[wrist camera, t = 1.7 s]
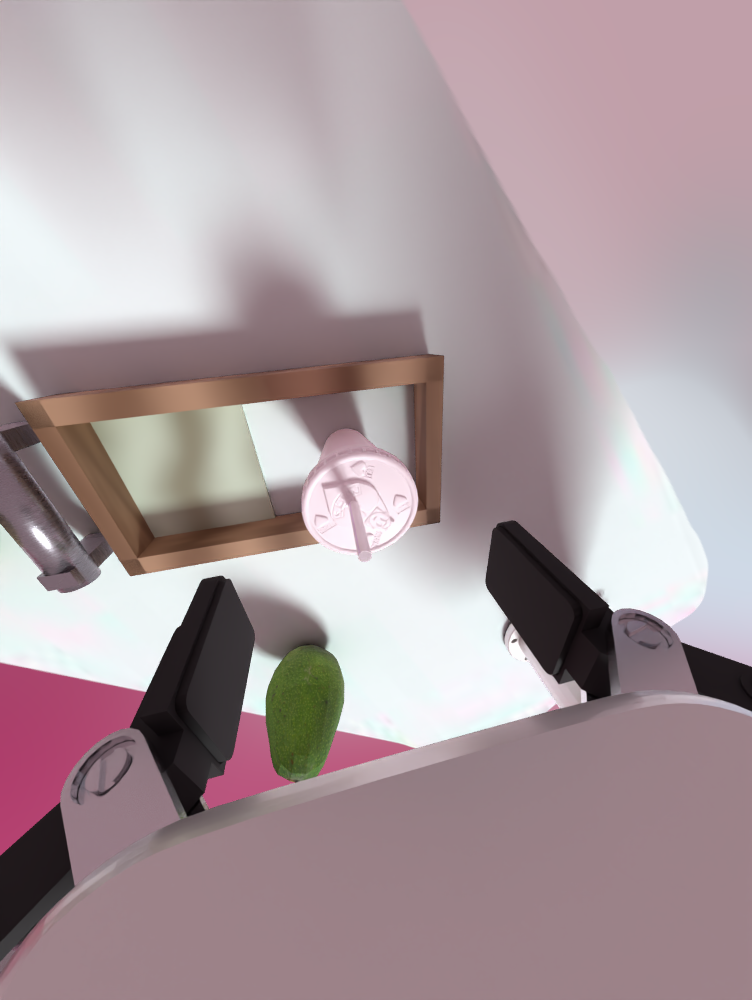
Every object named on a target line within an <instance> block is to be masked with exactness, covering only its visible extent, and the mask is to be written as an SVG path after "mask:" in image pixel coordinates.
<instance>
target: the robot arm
mask: <svg viewBox="0 0 752 1000" xmlns="http://www.w3.org/2000/svg"><path fill="white" fill-rule="evenodd" d="M485 582H486V586H487V589H488V590H489V592H490V593H491V595H492V596H493V598H494V599H495V600H496V602H497V603H498V605H499V606H500V608H501V609H502V611H503V612H504V613H505V615H506V616H507V618H508V619H509V621H510V622H511V624H510V625H509V627H508V629H507V631H506V634H505V645H506V648H507V649H508V651H509V653H510V654H511V655H512V656H513V657H514V658H516V659H518V660H521V661H527V662H529V663H530V664H531V666H532V667H533V669H534V670H535V672H536V673H537V675H538V676H539V678H540V679H541V681H542V682H543V684H544V685H545V687H546V688H547V690H548V691H549V693H550V694H551V696H552V697H553V699H554V700H555V702H556V703H557V705H558V706H559V708H560V709H557V710H553V711H550V712H546V713H542V714H539V715H535V716H531V717H528V718H524V719H520V720H517V721H513V722H509V723H506V724H502V725H498V726H495V727H491V728H487V729H484V730H480V731H477V732H473V733H469V734H466V735H462V736H459V737H455V738H452V739H448V740H444V741H441V742H437V743H434V744H430V745H426V746H423V747H419V748H416V749H412V750H409V751H405V752H402V753H398V754H395V755H391V756H387V757H384V758H380V759H377V760H373V761H370V762H366V763H363V764H359V765H356V766H352V767H349V768H345V769H342V770H338V771H335V772H331V773H328V774H325V775H321V776H318V777H314V778H310V779H307V780H303V781H300V782H296V783H293V784H290V785H286V786H282V787H279V788H276V789H272V790H269V791H266V792H262V793H259V794H256V795H253V796H250V797H246V798H243V799H240V800H236V801H233V802H230V803H227V804H223V805H220V806H217V807H214V808H211V809H209V808H208V806H207V804H206V802H205V800H204V798H203V796H202V795H203V794H204V793H205V788H206V784H207V780H208V779H209V778H213V777H217V776H221V775H223V774H224V769H225V764H226V761H227V760H230V759H231V758H232V755H233V752H234V747H235V742H236V737H237V731H238V726H239V721H240V715H241V710H242V705H243V699H244V694H245V689H246V683H247V678H248V673H249V667H250V662H251V657H252V651H253V646H254V640H255V634H254V630H253V627H252V625H251V623H250V621H249V619H248V617H247V614H246V612H245V610H244V608H243V606H242V603H241V601H240V599H239V597H238V595H237V592H236V590H235V588H234V586H233V584H232V582H231V580H230V579H225V578H224V577H223V576H216V577H211V578H206V579H203V580H202V581H201V582H200V584H199V587H198V589H197V591H196V593H195V595H194V598H193V600H192V602H191V604H190V606H189V609H188V611H187V613H186V615H185V618H184V620H183V622H182V624H181V626H179V627H178V628H177V629H176V630H175V632H174V634H173V636H172V638H171V640H170V642H169V644H168V646H167V649H166V651H165V653H164V655H163V657H162V659H161V661H160V664H159V666H158V668H157V670H156V672H155V674H154V677H153V679H152V681H151V683H150V685H149V687H148V689H147V692H146V694H145V696H144V698H143V700H142V702H141V705H140V707H139V709H138V711H137V713H136V715H135V717H134V720H133V722H132V724H131V726H130V728H127V729H121V730H119V731H116V732H114V733H112V734H110V735H108V736H107V737H105V738H104V739H102V740H101V741H99V742H98V743H96V744H95V745H94V746H93V747H92V748H91V749H90V750H89V751H88V752H86V753H85V754H84V756H83V757H82V758H81V759H80V761H79V762H78V763H77V764H76V765H75V767H74V768H73V770H72V771H71V773H70V774H69V776H68V778H67V779H66V782H65V784H64V787H63V790H62V792H61V802H60V803H59V804H58V805H56V807H54V808H53V809H52V810H51V811H50V812H49V813H48V814H46V815H45V816H44V817H43V818H42V819H41V820H40V821H39V822H37V823H36V824H35V825H34V826H33V827H32V828H31V829H30V830H29V831H27V832H26V833H25V834H24V835H23V836H22V837H21V838H20V839H18V840H17V841H16V842H15V843H14V844H13V845H12V846H11V847H10V848H8V849H7V850H6V851H5V852H4V853H3V854H2V855H1V856H0V1000H752V667H751V666H748V665H745V664H742V663H739V662H736V661H733V660H731V659H728V658H724V657H722V656H719V655H716V654H713V653H710V652H707V651H704V650H702V649H699V648H696V647H693V646H690V645H687V644H685V643H682V642H681V641H680V639H679V638H678V636H677V634H676V633H675V632H674V631H673V630H672V628H671V627H670V626H668V625H667V624H666V623H664V622H663V621H662V620H660V619H658V618H657V617H655V616H653V615H651V614H649V613H646V612H643V611H640V610H635V609H620V610H617V611H615V612H613V611H612V610H611V609H610V608H608V607H609V605H608V604H607V603H606V602H605V601H604V600H602V599H601V598H600V597H599V596H598V595H597V594H596V593H595V592H594V591H593V590H591V589H590V588H589V587H588V586H587V585H586V584H585V583H584V582H583V581H581V580H580V579H579V578H578V577H577V576H576V575H575V574H574V573H573V572H572V571H570V570H569V569H568V568H567V567H566V566H565V565H564V564H563V563H562V562H560V561H559V560H558V559H557V558H556V557H555V556H554V555H553V554H552V553H551V552H549V551H548V550H547V549H546V548H545V547H544V546H543V545H542V544H541V543H540V542H538V541H537V540H536V539H535V538H534V537H533V536H532V535H531V534H530V533H528V532H527V531H526V530H525V529H524V528H523V527H522V526H521V525H520V524H519V523H517V522H516V521H507V522H502V523H498V524H497V526H496V528H494V529H493V531H492V538H491V545H490V552H489V559H488V566H487V573H486V581H485Z"/></svg>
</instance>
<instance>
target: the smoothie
mask: <svg viewBox="0 0 752 1000" xmlns="http://www.w3.org/2000/svg"><path fill="white" fill-rule="evenodd" d="M301 502H302V516H303V520H304V523H305V525H306V527H307V529H308V531H309V532H310V534H311V535H312V536H313V537H314V538H315V539H316V540H317V541H318V542H319V543H320V544H322V545H323V546H325V547H326V548H328V549H330V550H333V551H335V552H339V553H343V554H349V555H358V559H359V560H360V561H362V562H367V561H369V560H370V559H371V557H372V554H371V553H373V552H376V551H379V550H382V549H384V548H386V547H388V546H390V545H391V544H393V543H394V542H396V541H397V540H398V539H399V538H401V537H402V536H403V535H404V533H405V532H406V531H407V530H408V529H409V527H410V525H411V524H412V522H413V520H414V518H415V515H416V512H417V507H418V493H417V488H416V485H415V483H414V480H413V479H412V476H411V474H410V473H409V471H408V469H407V467H406V466H405V465H404V464H403V463H402V462H401V461H400V460H399V459H398V458H397V457H396V456H394V455H392V454H390V453H388V452H386V451H384V450H383V449H379V448H377V447H376V446H375V445H373V444H372V443H371V442H370V441H369V440H368V439H367V438H365V437H364V436H363V435H362V434H361V433H359V432H358V431H356V430H353V429H340V430H337V431H335V432H334V433H332V434H331V435H330V436H329V437H328V439H327V440H326V442H325V445H324V448H323V450H322V453H321V456H320V459H319V461H318V464H317V465H316V466H315V467H314V468H313V469H312V471H311V472H310V473H309V475H308V477H307V479H306V481H305V483H304V485H303V491H302V497H301Z"/></svg>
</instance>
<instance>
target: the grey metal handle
mask: <svg viewBox="0 0 752 1000" xmlns="http://www.w3.org/2000/svg"><path fill="white" fill-rule="evenodd" d="M37 443H40V440H39V438H38V437H37V435H36V434H35V432H34V431H33V429H32V428H31V426H30V425H29V423H28V422H27V421H24V422H16V423H9V424H5V425H2V426H0V524H1V525H2V526H3V527H4V528H5V530H6V531H7V532H8V533H9V534H10V535H11V537H12V538H13V539H14V540H15V541H16V542H17V544H18V545H19V546H20V547H21V548H22V549H23V551H24V552H25V553H26V554H27V555H28V556H29V558H30V559H31V560H32V561H33V562H34V563H35V565H36V566H37V567H38V568H39V569H40V571H41V572H42V574H41V575H39V576H38V577H37V579H38V580H39V581H40V583H41V584H42V585H43V586H44V587H45V588H46V589H47V591H51V590H58V592H60V593H67V592H72V591H75V590H78V589H80V588H82V587H84V586H86V585H88V584H90V583H91V582H93V581H94V580H95V579H97V578H98V576H99V575H100V574H101V570H100V569H99V568H98V567H99V566H100V565H101V564H102V563H103V562H104V561H105V560H106V559H107V558H108V557H109V556H110V555H111V554H112V552H113V550H112V548H111V547H110V545H109V544H108V542H107V541H106V539H105V538H104V536H103V535H102V533H95V534H89V535H87V536H86V537H85V538H84V539H82V540H81V541H79V540H78V538H77V537H76V536H75V534H74V533H73V531H72V530H71V529H70V527H69V526H68V525H67V523H66V522H65V520H64V519H63V518H62V516H61V515H60V513H59V512H58V511H57V509H56V508H55V507H54V505H53V504H52V502H51V501H50V500H49V498H48V497H47V495H46V494H45V493H44V491H43V490H42V489H41V487H40V486H39V484H38V483H37V482H36V480H35V479H34V477H33V476H32V475H31V473H30V472H29V471H28V469H27V468H26V466H25V465H24V464H23V462H22V461H21V459H20V458H19V457H18V455H17V454H16V453H15V451H18V450H20V449H23V448H26V447H29V446H31V445H34V444H37Z"/></svg>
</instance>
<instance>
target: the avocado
mask: <svg viewBox="0 0 752 1000" xmlns="http://www.w3.org/2000/svg"><path fill="white" fill-rule="evenodd" d="M343 704H344V680H343V676H342V673H341V669H340V666H339V664H338V661H337V659H336V658H335V657H334V656H333V655H332V654H331V653H330V652H328V651H327V650H325V649H324V648H321V647H318V646H315V645H305V646H300V647H298V648H296V649H294V650H292V651H290V652H289V653H288V654H287V655H286V656H285V657H284V659H283V660H282V661H281V663H280V664H279V665H278V667H277V668H276V670H275V672H274V674H273V677H272V679H271V681H270V684H269V686H268V690H267V695H266V726H267V732H268V738H269V743H270V752H271V758H272V763H273V767H274V769H275V771H276V772H277V774H278V775H280V776H282V777H283V778H285V779H287V780H289V781H292V782H295V783H296V782H300V781H303V780H307V779H310V778H314V777H317V775H318V774H319V772H320V770H321V769H322V767H323V765H324V763H325V761H326V758H327V755H328V753H329V750H330V747H331V744H332V741H333V738H334V735H335V732H336V729H337V726H338V723H339V719H340V715H341V712H342V708H343Z"/></svg>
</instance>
